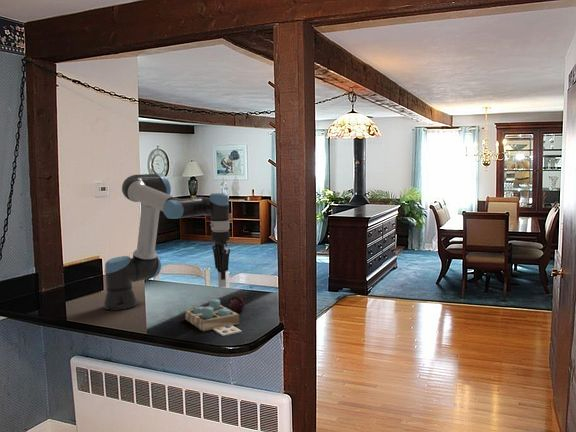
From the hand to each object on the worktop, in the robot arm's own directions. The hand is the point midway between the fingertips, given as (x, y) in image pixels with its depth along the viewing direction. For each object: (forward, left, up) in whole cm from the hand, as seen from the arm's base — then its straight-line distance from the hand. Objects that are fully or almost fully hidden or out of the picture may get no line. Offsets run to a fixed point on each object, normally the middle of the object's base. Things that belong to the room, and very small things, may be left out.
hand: (222, 286), depth 214 cm
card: (+7, -8, -15) cm, 19 cm away
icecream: (-5, +17, -16) cm, 23 cm away
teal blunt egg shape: (-8, +5, -13) cm, 16 cm away
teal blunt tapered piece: (0, 0, -15) cm, 15 cm away
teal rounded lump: (-12, -1, -15) cm, 19 cm away
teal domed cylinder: (-3, -6, -13) cm, 15 cm away
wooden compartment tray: (-6, -1, -15) cm, 16 cm away
